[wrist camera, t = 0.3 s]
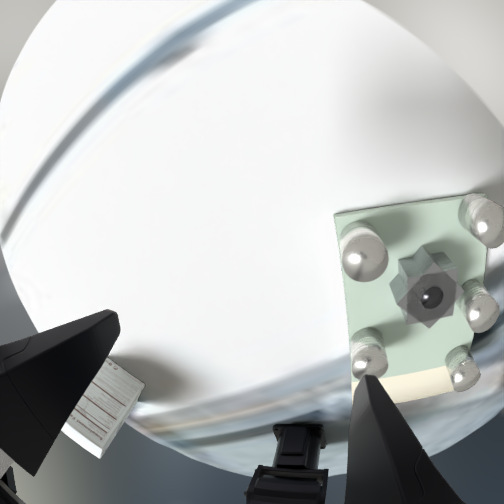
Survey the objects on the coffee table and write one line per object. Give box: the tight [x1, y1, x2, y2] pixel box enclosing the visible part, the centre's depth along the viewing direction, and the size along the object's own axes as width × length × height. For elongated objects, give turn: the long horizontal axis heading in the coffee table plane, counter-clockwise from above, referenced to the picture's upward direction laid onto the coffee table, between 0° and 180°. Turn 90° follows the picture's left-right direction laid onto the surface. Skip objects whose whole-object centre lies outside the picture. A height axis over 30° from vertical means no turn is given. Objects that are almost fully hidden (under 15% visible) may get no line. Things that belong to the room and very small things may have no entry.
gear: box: [389, 246, 465, 329], centre depth 18 cm, size 6×6×3 cm
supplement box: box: [61, 357, 145, 458], centre depth 31 cm, size 7×7×13 cm
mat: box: [334, 193, 488, 405], centre depth 22 cm, size 22×13×1 cm, turn 15°
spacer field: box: [339, 193, 504, 392], centre depth 19 cm, size 18×13×4 cm
